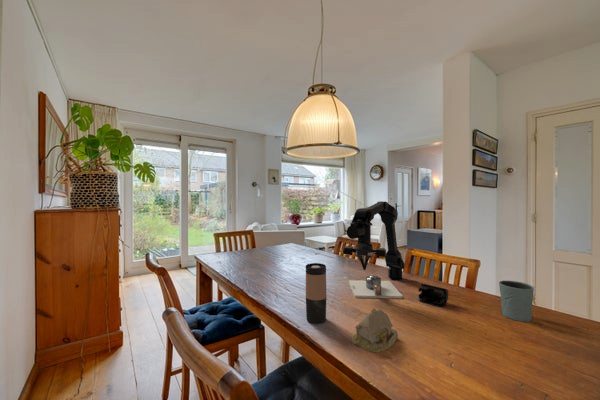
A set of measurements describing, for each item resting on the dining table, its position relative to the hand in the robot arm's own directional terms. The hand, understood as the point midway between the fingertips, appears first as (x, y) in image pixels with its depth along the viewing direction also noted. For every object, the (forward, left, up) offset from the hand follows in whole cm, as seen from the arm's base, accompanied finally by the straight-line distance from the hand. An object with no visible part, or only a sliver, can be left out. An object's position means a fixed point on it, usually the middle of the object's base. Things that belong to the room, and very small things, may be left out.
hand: (364, 269), depth 119 cm
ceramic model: (+4, +38, -12) cm, 40 cm away
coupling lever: (-5, -3, -10) cm, 12 cm away
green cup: (-53, +19, -12) cm, 57 cm away
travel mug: (+22, +25, -12) cm, 36 cm away
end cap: (-28, +7, -12) cm, 31 cm away
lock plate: (-6, -7, -12) cm, 15 cm away
